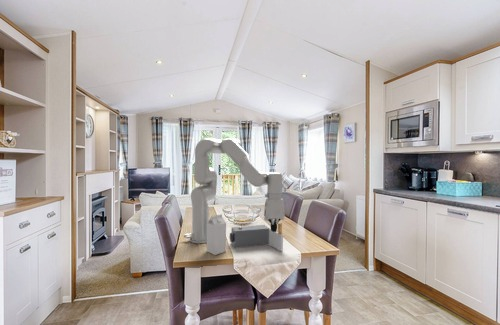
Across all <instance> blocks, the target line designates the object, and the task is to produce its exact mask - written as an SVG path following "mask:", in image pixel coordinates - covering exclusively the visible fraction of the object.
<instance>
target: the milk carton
mask: <svg viewBox="0 0 500 325" xmlns="http://www.w3.org/2000/svg"><path fill="white" fill-rule="evenodd" d="M226 238H227V223H226V221H225V219H224V217H223V213H221V214H217V215H212V216H211V215H210V218H209V221H208V222H207V242H206V252H208V253H210V254H212V255H213V256H216V255H219V254H223V253H226V252H227V248H226V247H227V239H226Z"/></svg>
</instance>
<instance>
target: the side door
mask: <svg viewBox="0 0 500 325" xmlns="http://www.w3.org/2000/svg"><path fill="white" fill-rule="evenodd" d="M268 245H269V246H271V247H273V248H274V249H276V250H278V251H279V252H283V250H284V246H283V245H284V234H283V222H278V224H277V230H276V232H273V231H271V228H270V229H269V244H268Z"/></svg>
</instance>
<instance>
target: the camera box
mask: <svg viewBox="0 0 500 325" xmlns="http://www.w3.org/2000/svg"><path fill="white" fill-rule="evenodd" d="M269 229H271V227H268V226H267V225H265V224H259V225H246V226H233V227H231V230H230V231H231V232H230V233H229V242H230V243H231V245H232V246H233V247H234V248H235V249H236V248H244V247H245V248H246V247H256V246H255V245H257V246H264V245H265V246H266V245H269Z"/></svg>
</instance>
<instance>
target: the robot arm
mask: <svg viewBox="0 0 500 325" xmlns="http://www.w3.org/2000/svg"><path fill="white" fill-rule="evenodd" d="M194 148H195V149H194V171H193V178H194V182H195V183H196V184H199V185H200V186H199V185H198V186H196V187H194V188H193V189H192V191H191V192H190V200H191V208H192V212H191V213H192V214H191V215H192V222H191V223H192V226H191V227H192V229H191V232H190V233H184V234H183V238H184V239H189V242H190V243H193V244H205V243H206V244H207V222H208V221H209V220H210V208H209V204H208V202H209V201H212V200H213V199H215V197H216V194H217V185H218V175H217V171H216V170H215V169H214V168H213V167H210V164H211V163H210V162H211V161H210V160H211V159H210V156H209V154H226V156H228V157H229V158H230V159H231V161H233V163H234V164H235V165H236V166H237V168H238V170H239V172H240V173H241V175H242V176H243V177H244V179H245V180H247V182H248V183H249V184H250V185H251V186H253V187H255V188H259V187H263V186H267V193H266V194H264V197H265V198H266V199H265V204H264V208H263V209H264V210H263V213H264V214H263V216H264V217H263V220H264V221H265V222H266V221H267V222H269V224H270V229H271V231H273V232H276V231H278V223H280V221H282V220H284V218H285V216H286V213H285V212H286V211H285V209H286V208H285V202H284V198H283V197H282V196H283V194H282V193H283V174H282V173H281V172H267V171H258V170H257V169H256V168H255V166H253V164H252V163H251V161H250V155H249V153H248V152H246V150H244V149H243V147H242V143H241V141H240V140H239V139H237V138H231V137H229V138H225V139H217V138H210V137H209V138H208V137H207V138H203V139H201V140H200V141H198V142H197V143H196V145H195V147H194Z"/></svg>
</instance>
